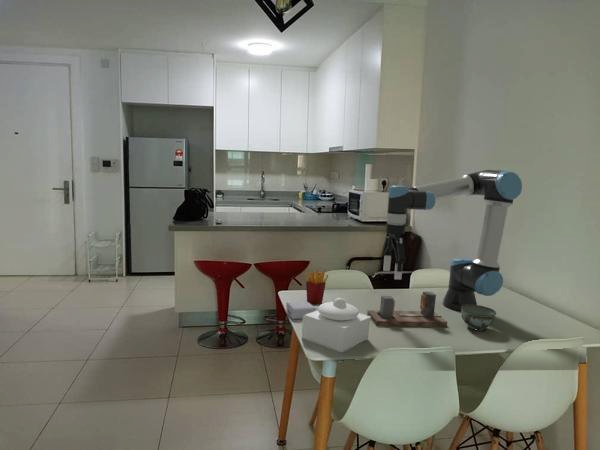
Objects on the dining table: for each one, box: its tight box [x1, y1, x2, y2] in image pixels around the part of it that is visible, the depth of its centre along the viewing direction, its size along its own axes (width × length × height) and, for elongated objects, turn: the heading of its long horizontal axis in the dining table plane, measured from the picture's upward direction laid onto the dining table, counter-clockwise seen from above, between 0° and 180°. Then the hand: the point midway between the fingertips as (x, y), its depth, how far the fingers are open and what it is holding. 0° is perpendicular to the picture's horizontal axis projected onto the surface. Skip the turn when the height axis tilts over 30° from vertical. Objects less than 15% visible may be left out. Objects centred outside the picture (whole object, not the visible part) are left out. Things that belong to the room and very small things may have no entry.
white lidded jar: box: [301, 297, 371, 354], centre depth 167 cm, size 18×18×16 cm
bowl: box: [460, 304, 497, 331], centre depth 188 cm, size 14×13×8 cm
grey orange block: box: [379, 295, 396, 319], centre depth 191 cm, size 5×4×10 cm
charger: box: [285, 301, 320, 320], centre depth 192 cm, size 5×9×15 cm
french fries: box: [305, 270, 329, 306], centre depth 209 cm, size 9×8×15 cm
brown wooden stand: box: [366, 291, 448, 327], centre depth 192 cm, size 30×13×12 cm, turn 98°
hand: (391, 274), depth 190 cm, fingers open, 13 cm apart
